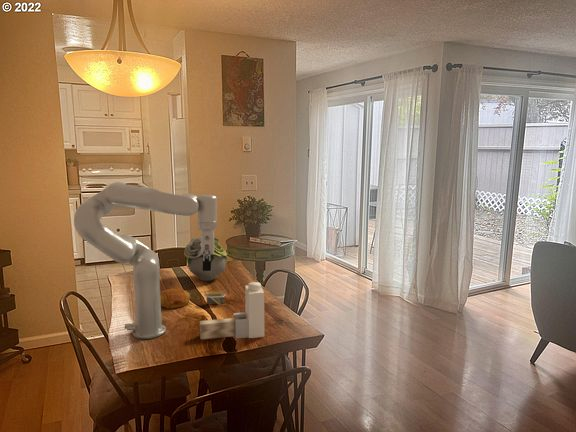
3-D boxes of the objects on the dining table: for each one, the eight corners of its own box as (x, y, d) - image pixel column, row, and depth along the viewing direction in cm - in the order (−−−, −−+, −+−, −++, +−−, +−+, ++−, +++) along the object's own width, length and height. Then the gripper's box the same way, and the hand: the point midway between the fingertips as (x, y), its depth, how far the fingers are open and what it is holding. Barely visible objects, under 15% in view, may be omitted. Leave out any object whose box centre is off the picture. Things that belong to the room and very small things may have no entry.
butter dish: (233, 309, 192) (233, 295, 191) (194, 310, 191) (193, 296, 190) (235, 300, 204) (234, 287, 203) (197, 300, 203) (197, 287, 202)
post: (236, 339, 161) (235, 289, 158) (233, 328, 171) (232, 281, 167) (264, 336, 164) (264, 287, 160) (260, 326, 173) (259, 279, 170)
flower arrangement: (175, 282, 230) (174, 238, 226) (201, 270, 252) (200, 230, 249) (214, 288, 220) (213, 243, 216) (237, 275, 243) (237, 234, 239)
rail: (200, 339, 161) (199, 324, 160) (200, 335, 164) (199, 321, 163) (246, 334, 165) (246, 320, 164) (245, 331, 169) (245, 317, 168)
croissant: (157, 305, 202) (153, 289, 201) (189, 296, 208) (186, 281, 206) (160, 315, 189) (156, 298, 188) (194, 305, 195) (191, 289, 193)
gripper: (217, 229, 159) (216, 273, 162) (216, 222, 176) (216, 261, 179) (196, 229, 158) (196, 273, 160) (198, 222, 175) (198, 261, 177)
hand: (206, 267), depth 170 cm, fingers open, 9 cm apart
